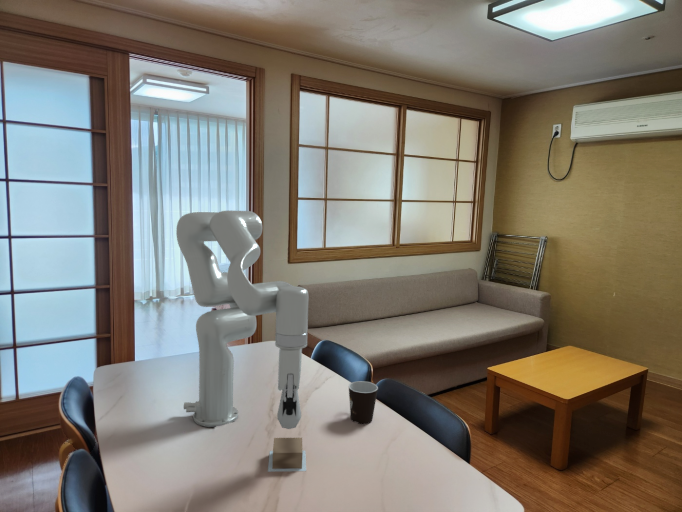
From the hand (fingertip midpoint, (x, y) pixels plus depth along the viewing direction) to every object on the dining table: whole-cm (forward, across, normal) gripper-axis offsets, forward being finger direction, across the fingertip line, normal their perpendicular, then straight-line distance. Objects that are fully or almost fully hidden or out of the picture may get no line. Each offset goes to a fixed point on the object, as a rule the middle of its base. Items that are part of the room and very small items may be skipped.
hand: (289, 412), depth 113 cm
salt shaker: (+3, 0, 0) cm, 3 cm away
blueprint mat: (+13, 0, 0) cm, 13 cm away
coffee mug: (+13, -24, +22) cm, 35 cm away
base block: (+12, 0, 0) cm, 12 cm away
